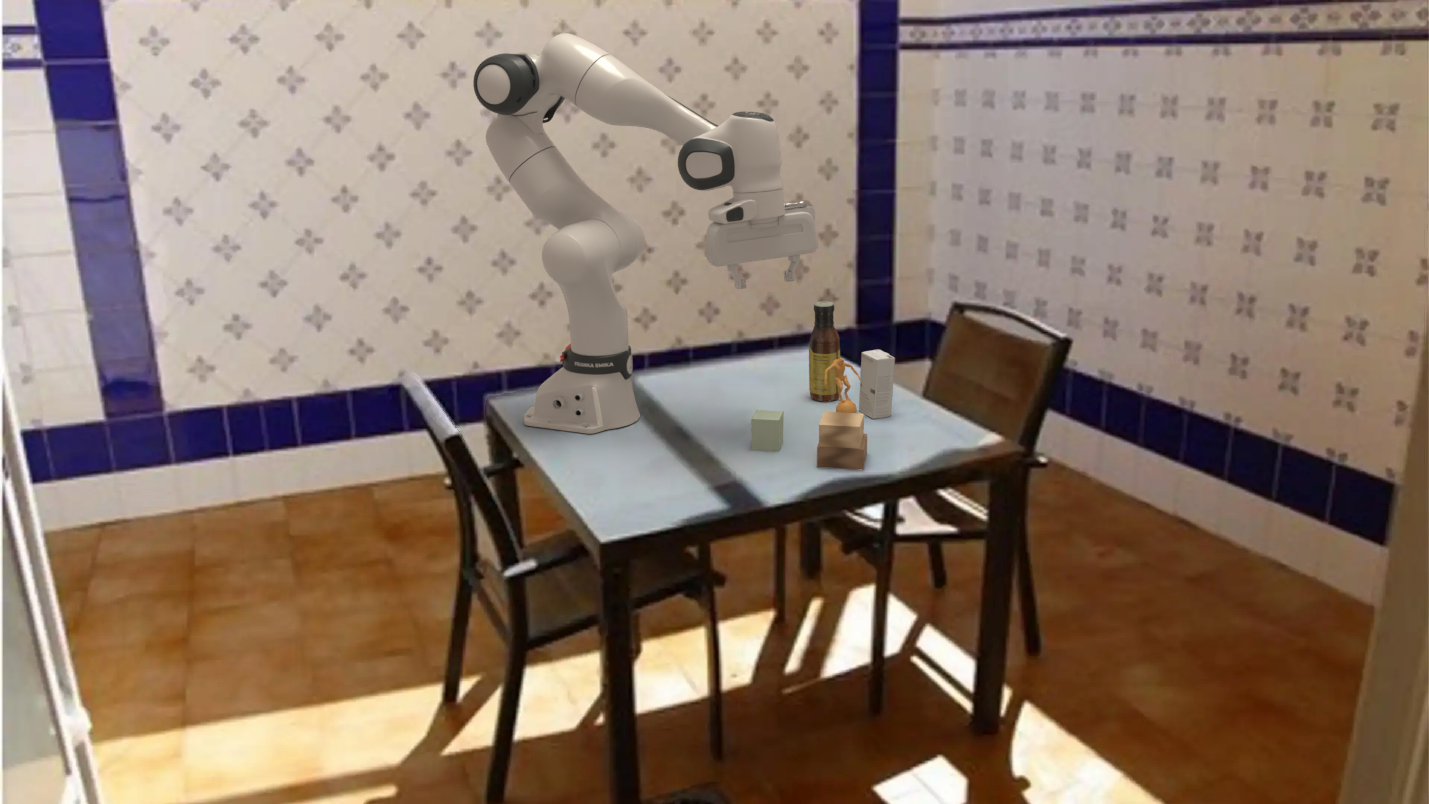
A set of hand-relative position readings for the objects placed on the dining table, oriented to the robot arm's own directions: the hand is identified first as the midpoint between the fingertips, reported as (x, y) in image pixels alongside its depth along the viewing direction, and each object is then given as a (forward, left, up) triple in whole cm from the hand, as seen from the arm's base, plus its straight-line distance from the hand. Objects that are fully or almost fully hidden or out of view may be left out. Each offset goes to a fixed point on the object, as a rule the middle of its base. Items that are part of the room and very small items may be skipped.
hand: (765, 284), depth 211 cm
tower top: (+15, -10, -25) cm, 31 cm away
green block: (+1, -4, -29) cm, 29 cm away
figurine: (+13, +13, -29) cm, 34 cm away
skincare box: (+19, +17, -29) cm, 38 cm away
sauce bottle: (+8, +25, -29) cm, 39 cm away
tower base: (+15, -9, -29) cm, 34 cm away
